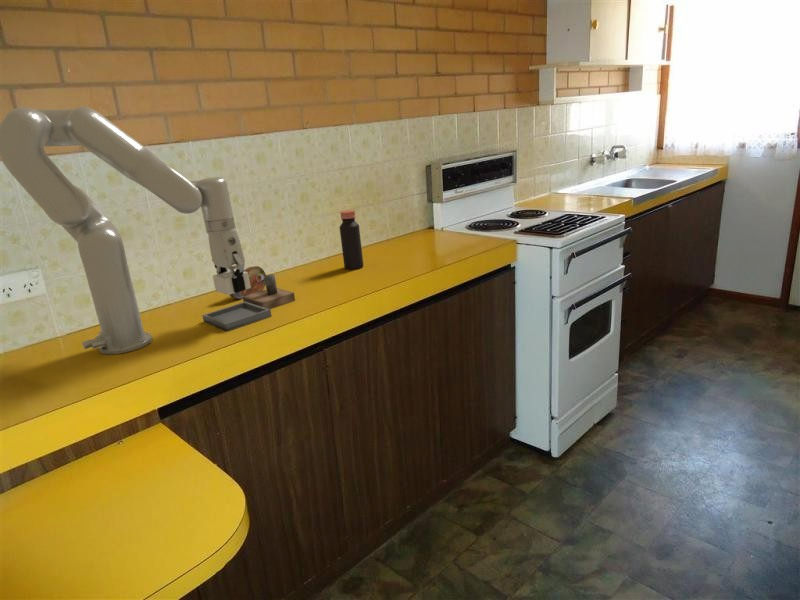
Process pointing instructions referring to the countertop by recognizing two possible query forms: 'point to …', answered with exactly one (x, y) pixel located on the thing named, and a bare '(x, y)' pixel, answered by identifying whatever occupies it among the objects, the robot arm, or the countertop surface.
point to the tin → (252, 282)
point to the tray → (236, 316)
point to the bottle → (351, 241)
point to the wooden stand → (270, 295)
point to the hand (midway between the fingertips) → (233, 288)
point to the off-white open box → (228, 282)
